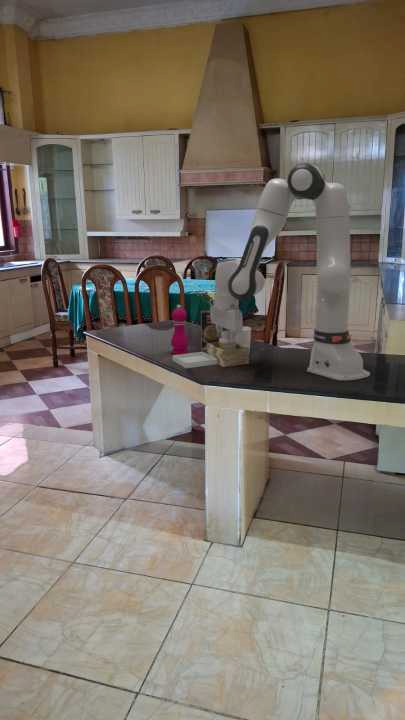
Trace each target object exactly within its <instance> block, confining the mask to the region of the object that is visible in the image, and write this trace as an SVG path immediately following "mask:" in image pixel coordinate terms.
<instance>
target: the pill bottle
mask: <svg viewBox="0 0 405 720" xmlns="http://www.w3.org/2000/svg"><path fill="white" fill-rule="evenodd" d="M230 334H231V333H230V330H228V329H225V330H224V329H223V331H221V335H222V337H221V338H220V339H219V348H220V349H222V350H224V351H225V350H233V349H236V339H235V341H234V342H230V341H229V337H230Z"/></svg>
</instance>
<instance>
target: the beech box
mask: <svg viewBox="0 0 405 720" xmlns="http://www.w3.org/2000/svg"><path fill="white" fill-rule="evenodd" d="M206 354H208V355H210V356H212V357H214V358H216V359H218V364H217V365H219V366H221V367H223V368H227V367H234V366H241V365H249V363H250V352H249V348H247V347H245V346H243V345H240V344H238V343H236V349H233V350H225V351H224V350H222V349H220V348H219V342H215V343H207V350H206Z"/></svg>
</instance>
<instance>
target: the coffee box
mask: <svg viewBox="0 0 405 720" xmlns="http://www.w3.org/2000/svg"><path fill="white" fill-rule="evenodd" d="M200 325H201V326H200V347H201V348H200V349H201V352H204V351H207V343H215V342H219V339H220V338H221V337H219V336H218V332H217V329H216V324H213V323H212V322H211V318H210V309H209V310H208V309H207V310H204V309H203V310H200ZM222 331H224V328H223V327H222Z"/></svg>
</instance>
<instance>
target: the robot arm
mask: <svg viewBox="0 0 405 720" xmlns="http://www.w3.org/2000/svg"><path fill="white" fill-rule="evenodd" d="M296 200H310V201H311V200H312V202H313V203H314V206H315V226H316V227H315V228H316V229H315V232H316V282H317V292H316V294H317V295H316V309H315V328H314V330H313V339H314V341H313V342H314V343H313V346H312V347H311V352H310V358H309V359H310V360H309V366H307V369H306V372H309V373H311V374H315V375H319V376H321V377H325V378H327V379H331V380H337V381H354V380H360V379H364V378H368V377H370V376H371V372H369V371H368V370H366V369H364V360H363V357H362V356H361V353H359V352H358V351H357V350H356V349H355V347H354V345H352V343H351V341H352V340H351V338H352V337H353V334H350V332H349V330H348V327H349V326H348V325H349V307H350V305H349V304H350V285H351V284H350V283H351V280H352V279H351V275H352V274H351V273H352V272H351V271H352V270H351V267H352V266H351V236H350V235H351V228H350V227H351V226H350V222H351V221H350V204H349V197H348V193H347V189H346V187H345V185H343V184H341V183H340V182H339V183H338V182H327V181H326V178H325V175H324V173H323V172H322V171H321V169H319V167H317V166H316V165H314V164H312V163H308V162H302V163H298V164H296V165H295V166H294V167H292V169H290V171H289V173H288V175H287V179H283V178H276V177H275V178H272V179H270V180H268V182H267V183H266V185H265V187H264V188H263V191H262V193H261V196H260V197H259V200H258V203H257V207H256V210H255V214H254V215H253V216H254V217H253V219H252V220H253V222H252V224H251V229H250V233H249V236H248V240H247V243H246V245H245V247H244V250H243V253H242V256H241V259H240V261H239V260H238V259H237V258H229V259H224V260H220V261H219V262H217V264H216V268H215V275H214V277H215V278H214V279H215V281H214V283H215V292H214V297H213V298H210V300H209V305H210V309H209V310H210V318H211V322H212V323H213V324H216V329H217V332H218V336H219V337H222V335H221V331H222V327H223V329H225V330H230V333H231V334H230V337H229V341H230V342H234V341H235V336H236V334H237V332H240V331H242V329H243V327H244V322H243V321H244V320H243V313H242V311H241V309H240V307H239V301H240V302H241V301H243V302H244V301H248V300H250V299H251V298H252V297H253V296H255V295H257V294H259V293H260V292H261V291H262V290H263V289H264V287H265V281H266V279H265V276H264V275H263V273H262V272H261V271H260V270H258V267H259V265H260V263H261V259H262V257H263V253H264V251H265V250H266V249H267V247H268V245H269V244H270V243H271V242H273V240H274V239H276V238H277V237H278V236H279V235H280V233H281V232H282V230H283V229H284V226H285V224H286V221H287V218H288V216H289V212H290V209H291V206H292V204H293V203H294V201H296Z"/></svg>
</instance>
